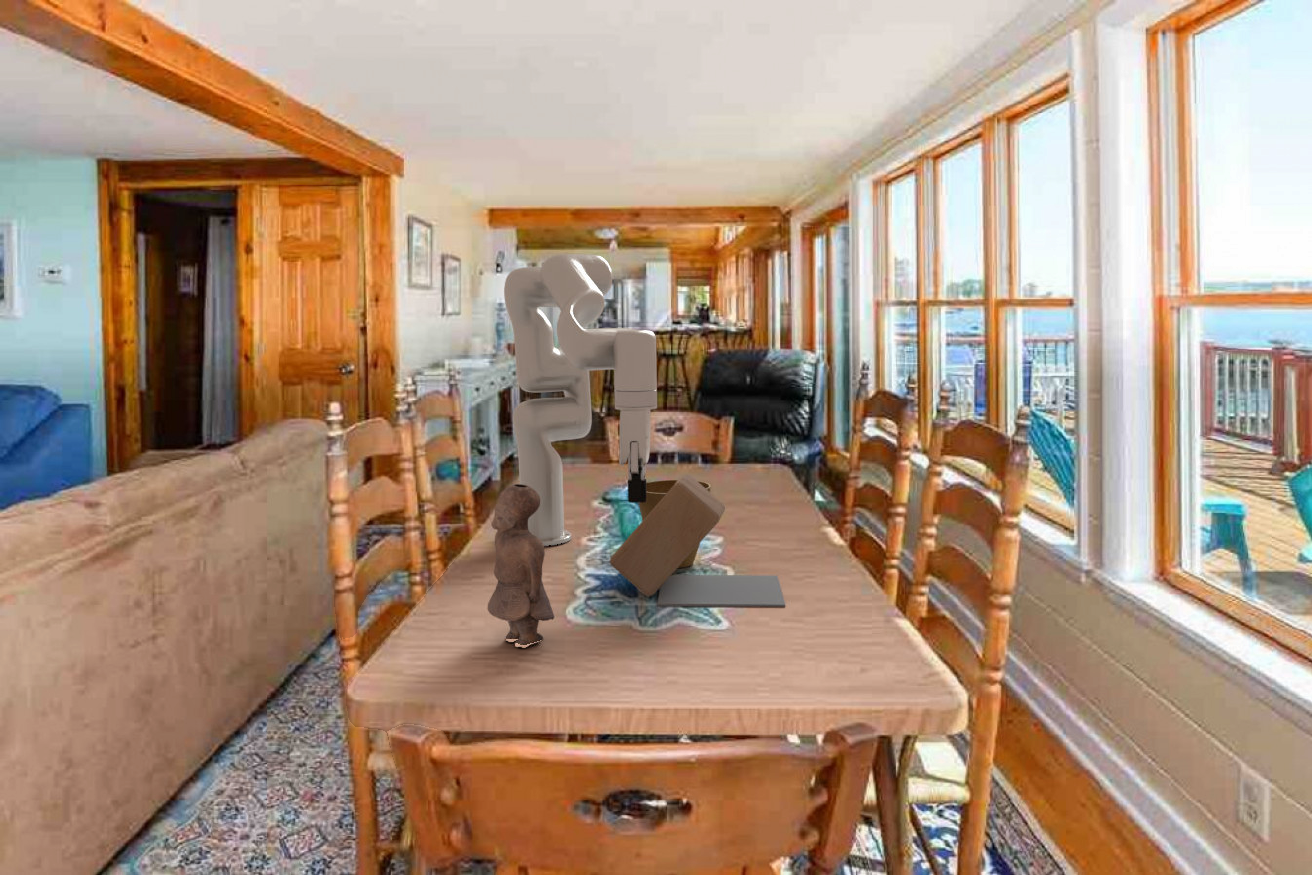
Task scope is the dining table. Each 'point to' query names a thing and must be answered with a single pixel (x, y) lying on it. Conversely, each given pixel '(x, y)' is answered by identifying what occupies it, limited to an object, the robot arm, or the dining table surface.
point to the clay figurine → (519, 566)
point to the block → (668, 535)
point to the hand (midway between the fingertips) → (637, 501)
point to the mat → (721, 591)
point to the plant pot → (654, 495)
